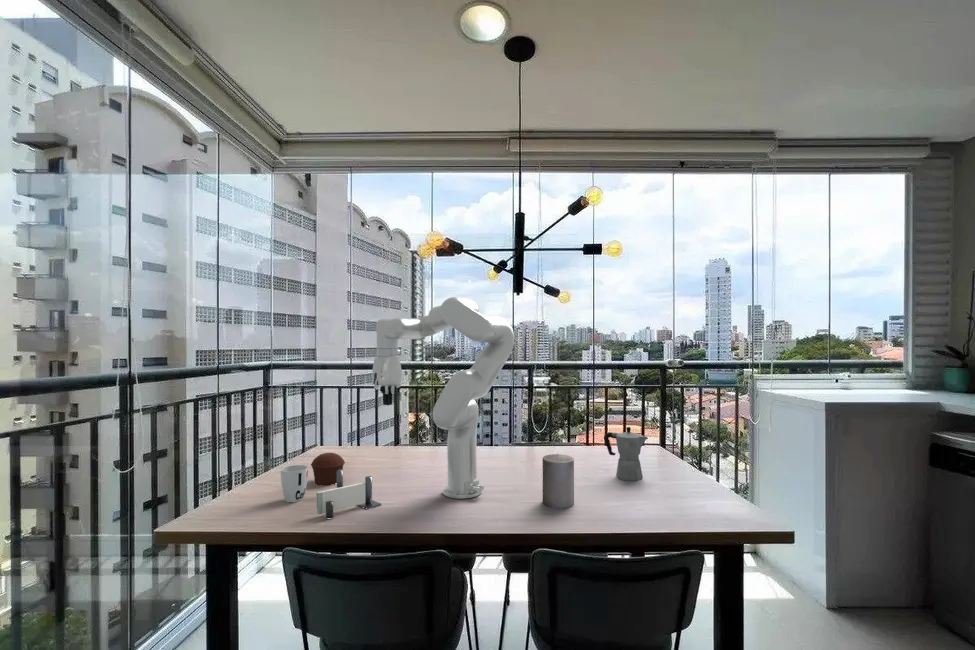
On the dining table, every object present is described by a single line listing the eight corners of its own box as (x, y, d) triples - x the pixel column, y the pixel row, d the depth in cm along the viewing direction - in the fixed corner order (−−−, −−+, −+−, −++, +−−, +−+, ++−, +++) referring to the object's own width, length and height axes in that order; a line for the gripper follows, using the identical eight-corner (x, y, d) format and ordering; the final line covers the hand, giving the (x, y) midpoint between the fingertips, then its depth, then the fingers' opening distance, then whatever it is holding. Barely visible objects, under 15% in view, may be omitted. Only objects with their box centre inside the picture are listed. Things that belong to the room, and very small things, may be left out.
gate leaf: (363, 502, 149) (363, 482, 149) (365, 503, 148) (365, 483, 148) (316, 513, 140) (316, 492, 140) (318, 514, 139) (318, 493, 139)
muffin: (304, 485, 170) (304, 456, 170) (322, 476, 181) (321, 449, 181) (334, 487, 167) (334, 458, 168) (351, 478, 178) (351, 451, 178)
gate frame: (381, 505, 149) (381, 477, 149) (329, 520, 137) (329, 490, 137) (343, 490, 164) (343, 464, 164) (294, 503, 152) (294, 475, 152)
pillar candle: (537, 500, 152) (536, 451, 152) (564, 495, 156) (564, 448, 156) (552, 510, 143) (551, 459, 143) (581, 506, 147) (580, 455, 147)
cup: (298, 505, 150) (298, 472, 150) (274, 503, 152) (275, 471, 152) (313, 496, 158) (313, 465, 158) (290, 495, 160) (290, 464, 160)
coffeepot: (649, 475, 178) (648, 425, 178) (647, 482, 169) (646, 430, 169) (606, 471, 184) (606, 423, 184) (602, 478, 175) (601, 427, 175)
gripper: (398, 352, 184) (398, 401, 183) (363, 354, 173) (363, 406, 173) (410, 353, 179) (410, 403, 178) (375, 354, 168) (375, 408, 167)
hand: (387, 404), depth 175 cm, fingers closed
